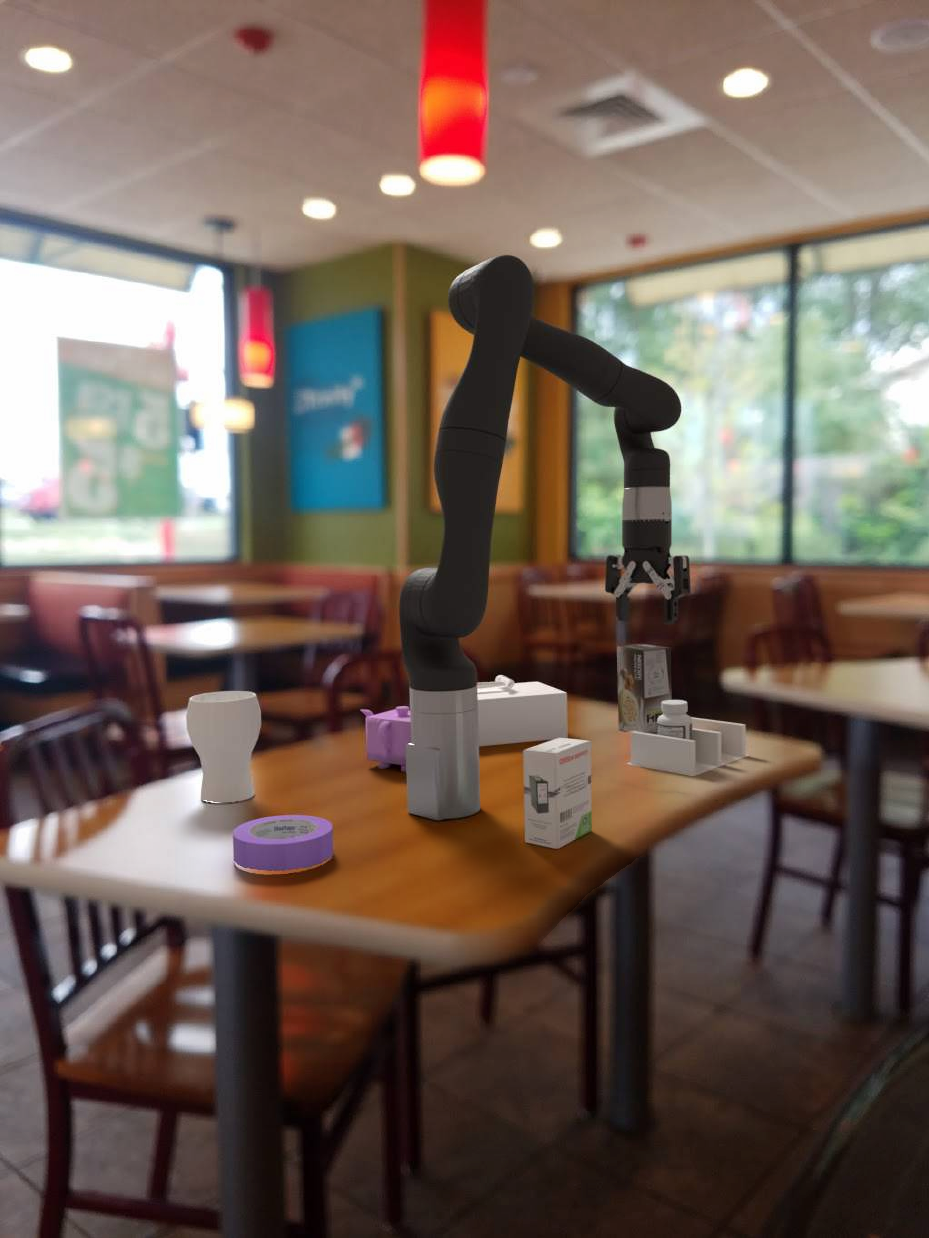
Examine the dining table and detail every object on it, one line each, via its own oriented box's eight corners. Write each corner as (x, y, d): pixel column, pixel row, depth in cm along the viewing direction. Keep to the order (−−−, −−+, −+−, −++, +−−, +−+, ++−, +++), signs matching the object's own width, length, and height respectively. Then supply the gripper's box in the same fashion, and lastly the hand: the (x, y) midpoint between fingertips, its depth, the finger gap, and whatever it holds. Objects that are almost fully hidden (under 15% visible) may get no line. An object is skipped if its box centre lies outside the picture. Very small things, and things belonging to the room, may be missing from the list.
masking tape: (305, 837, 123) (304, 808, 122) (351, 861, 113) (350, 829, 113) (218, 857, 116) (216, 826, 115) (259, 884, 106) (258, 851, 106)
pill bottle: (672, 757, 154) (671, 697, 153) (699, 763, 150) (699, 701, 149) (650, 763, 151) (649, 702, 150) (678, 769, 147) (677, 706, 146)
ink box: (560, 825, 124) (558, 735, 123) (593, 831, 121) (592, 739, 120) (523, 843, 118) (521, 748, 116) (557, 850, 115) (556, 753, 113)
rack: (693, 782, 143) (692, 742, 142) (626, 769, 151) (625, 732, 151) (749, 761, 155) (749, 724, 154) (685, 750, 163) (684, 715, 163)
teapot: (474, 762, 159) (472, 703, 158) (427, 780, 148) (425, 717, 148) (389, 750, 169) (387, 695, 168) (339, 766, 158) (336, 708, 158)
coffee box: (673, 734, 176) (673, 647, 175) (645, 738, 174) (644, 650, 172) (644, 725, 185) (643, 642, 183) (616, 729, 182) (615, 645, 181)
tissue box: (567, 739, 176) (566, 680, 175) (435, 751, 169) (434, 690, 168) (538, 724, 190) (537, 669, 189) (415, 735, 182) (413, 678, 182)
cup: (277, 788, 146) (272, 690, 144) (242, 808, 136) (237, 703, 134) (214, 785, 149) (209, 689, 147) (176, 804, 138) (170, 701, 137)
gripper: (595, 518, 151) (595, 621, 152) (672, 516, 141) (671, 626, 142) (623, 519, 156) (623, 618, 157) (700, 516, 146) (699, 623, 147)
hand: (646, 622), depth 150 cm, fingers open, 8 cm apart
